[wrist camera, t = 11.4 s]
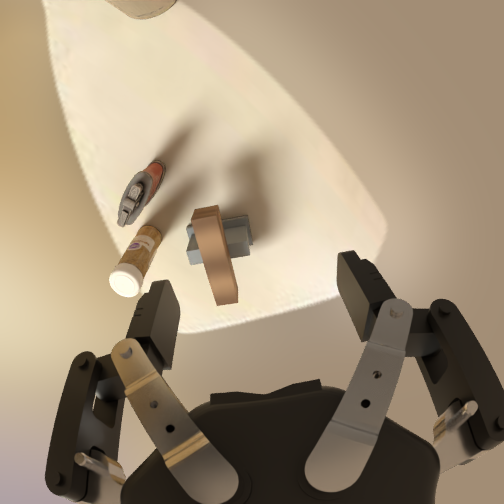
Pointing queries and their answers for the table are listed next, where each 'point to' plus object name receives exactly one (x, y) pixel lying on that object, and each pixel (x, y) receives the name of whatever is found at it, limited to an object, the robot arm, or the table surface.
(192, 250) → the fulcrum
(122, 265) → the sprinkles bottle
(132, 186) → the lighter
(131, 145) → the table surface
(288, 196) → the table surface
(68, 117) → the table surface
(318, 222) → the table surface
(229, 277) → the walnut bar
